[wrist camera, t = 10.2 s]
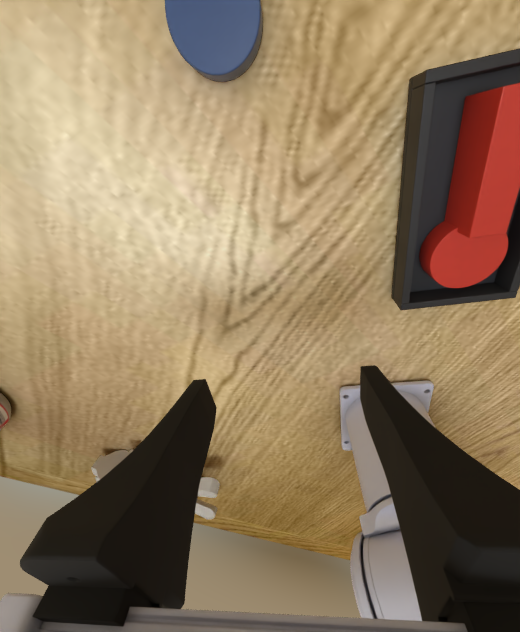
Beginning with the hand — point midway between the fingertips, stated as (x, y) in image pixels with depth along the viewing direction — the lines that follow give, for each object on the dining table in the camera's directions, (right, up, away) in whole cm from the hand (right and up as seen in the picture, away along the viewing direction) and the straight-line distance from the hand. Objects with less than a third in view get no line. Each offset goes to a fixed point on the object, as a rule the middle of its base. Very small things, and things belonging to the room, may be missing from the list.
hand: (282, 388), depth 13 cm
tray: (+11, +10, +4) cm, 16 cm away
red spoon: (+11, +10, +3) cm, 15 cm away
